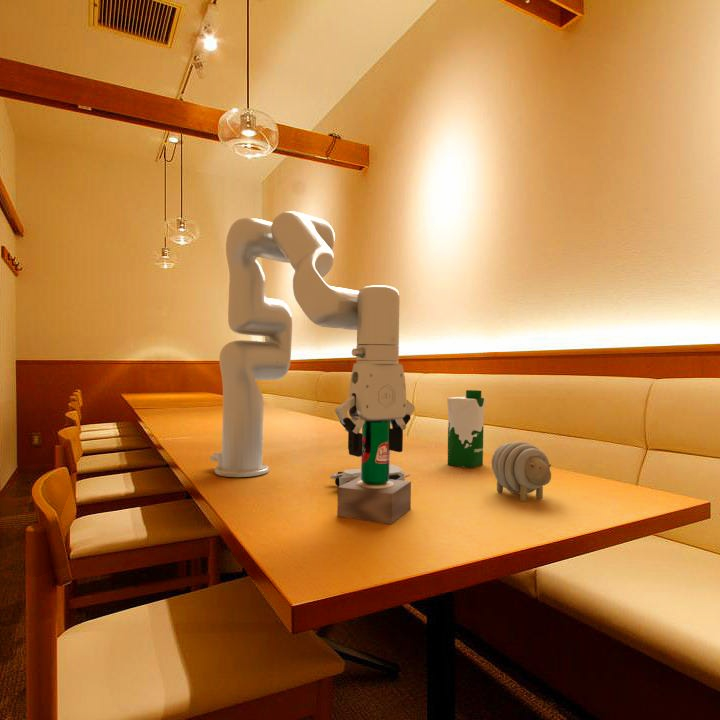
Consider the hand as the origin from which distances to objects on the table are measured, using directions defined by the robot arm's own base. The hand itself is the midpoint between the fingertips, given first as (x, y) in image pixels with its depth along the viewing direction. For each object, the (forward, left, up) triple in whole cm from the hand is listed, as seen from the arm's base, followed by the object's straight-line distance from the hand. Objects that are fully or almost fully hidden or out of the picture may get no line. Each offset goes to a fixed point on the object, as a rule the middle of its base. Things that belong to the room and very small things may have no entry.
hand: (376, 452), depth 90 cm
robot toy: (-8, +16, -11) cm, 21 cm away
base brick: (0, 0, -11) cm, 11 cm away
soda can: (0, 0, -5) cm, 5 cm away
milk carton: (+5, +52, -11) cm, 53 cm away
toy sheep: (+22, +25, -11) cm, 35 cm away
